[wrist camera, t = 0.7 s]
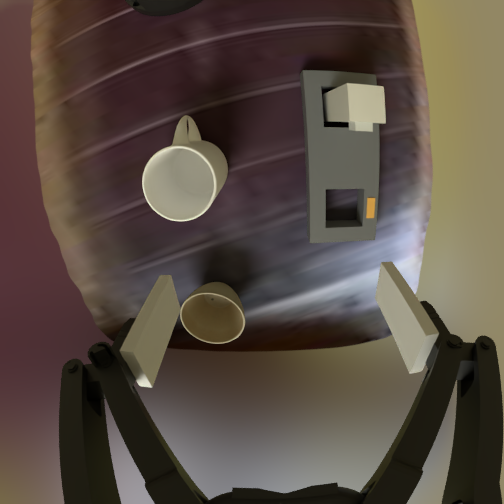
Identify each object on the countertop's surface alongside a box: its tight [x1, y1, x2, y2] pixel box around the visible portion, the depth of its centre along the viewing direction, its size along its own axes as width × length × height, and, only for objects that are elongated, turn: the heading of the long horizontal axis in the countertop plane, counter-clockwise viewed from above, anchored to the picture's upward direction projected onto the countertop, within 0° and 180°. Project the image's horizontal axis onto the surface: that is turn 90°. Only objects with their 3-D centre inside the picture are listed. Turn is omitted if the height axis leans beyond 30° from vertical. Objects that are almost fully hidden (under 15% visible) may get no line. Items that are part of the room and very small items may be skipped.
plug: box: [323, 83, 386, 132], centre depth 29 cm, size 5×4×12 cm
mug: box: [142, 115, 228, 221], centre depth 33 cm, size 9×12×11 cm
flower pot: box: [180, 282, 245, 344], centre depth 45 cm, size 10×10×7 cm
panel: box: [300, 70, 379, 243], centre depth 36 cm, size 24×10×3 cm, turn 5°
